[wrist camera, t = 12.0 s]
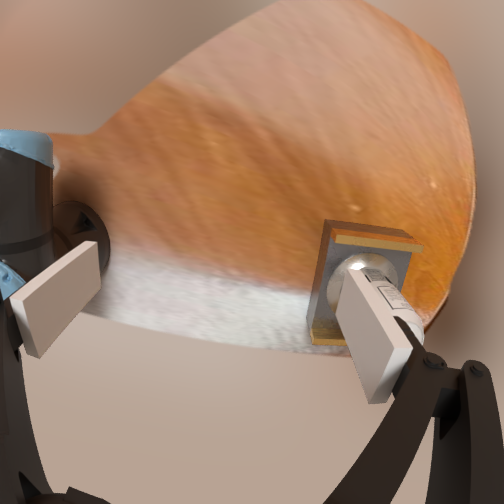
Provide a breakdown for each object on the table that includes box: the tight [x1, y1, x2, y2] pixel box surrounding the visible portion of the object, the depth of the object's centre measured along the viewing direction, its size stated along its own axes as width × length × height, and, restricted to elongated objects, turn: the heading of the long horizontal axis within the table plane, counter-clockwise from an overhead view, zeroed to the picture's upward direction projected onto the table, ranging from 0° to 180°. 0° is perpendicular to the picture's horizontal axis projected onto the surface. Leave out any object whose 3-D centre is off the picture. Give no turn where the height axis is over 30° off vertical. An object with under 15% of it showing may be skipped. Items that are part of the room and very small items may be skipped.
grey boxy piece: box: [306, 219, 424, 346], centre depth 47 cm, size 14×18×8 cm
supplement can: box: [340, 267, 424, 345], centre depth 39 cm, size 8×8×15 cm
